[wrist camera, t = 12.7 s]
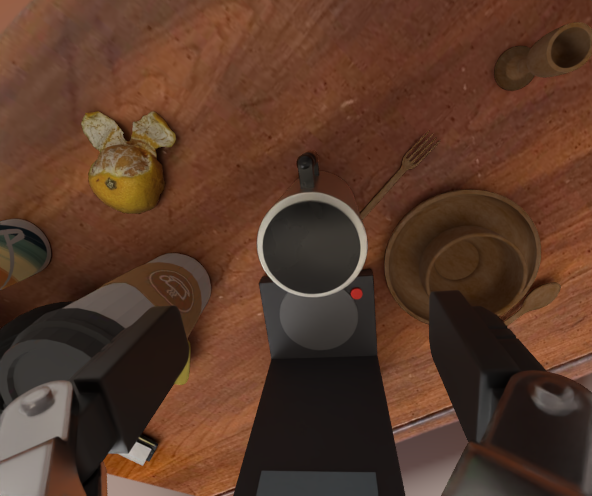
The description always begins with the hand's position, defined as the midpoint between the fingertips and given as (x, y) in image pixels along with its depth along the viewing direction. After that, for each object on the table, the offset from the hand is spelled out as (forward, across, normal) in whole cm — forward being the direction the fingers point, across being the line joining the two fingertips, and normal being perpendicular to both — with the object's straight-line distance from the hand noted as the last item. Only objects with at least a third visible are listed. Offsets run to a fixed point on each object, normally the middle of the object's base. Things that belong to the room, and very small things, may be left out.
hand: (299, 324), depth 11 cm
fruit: (+19, +15, -6) cm, 25 cm away
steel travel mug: (+19, 0, 0) cm, 19 cm away
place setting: (+19, -13, +2) cm, 23 cm away
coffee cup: (+19, +14, +6) cm, 24 cm away
